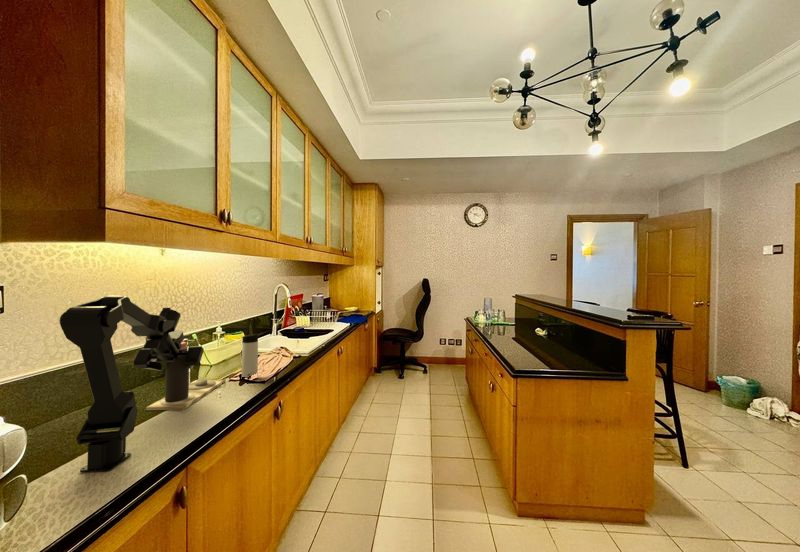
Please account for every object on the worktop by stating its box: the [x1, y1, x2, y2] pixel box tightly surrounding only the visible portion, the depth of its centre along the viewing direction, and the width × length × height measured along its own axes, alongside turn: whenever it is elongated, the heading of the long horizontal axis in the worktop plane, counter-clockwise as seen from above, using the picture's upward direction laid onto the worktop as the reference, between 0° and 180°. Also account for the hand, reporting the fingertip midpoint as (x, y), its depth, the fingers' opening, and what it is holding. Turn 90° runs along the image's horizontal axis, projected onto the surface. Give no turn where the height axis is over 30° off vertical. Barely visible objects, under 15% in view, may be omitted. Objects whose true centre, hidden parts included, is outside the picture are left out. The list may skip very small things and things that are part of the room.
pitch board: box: [145, 378, 226, 411], centre depth 114 cm, size 27×12×3 cm, turn 4°
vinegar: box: [164, 341, 190, 402], centre depth 106 cm, size 7×7×20 cm
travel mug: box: [241, 333, 259, 378], centre depth 132 cm, size 6×7×20 cm
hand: (177, 368), depth 106 cm, fingers open, 9 cm apart
